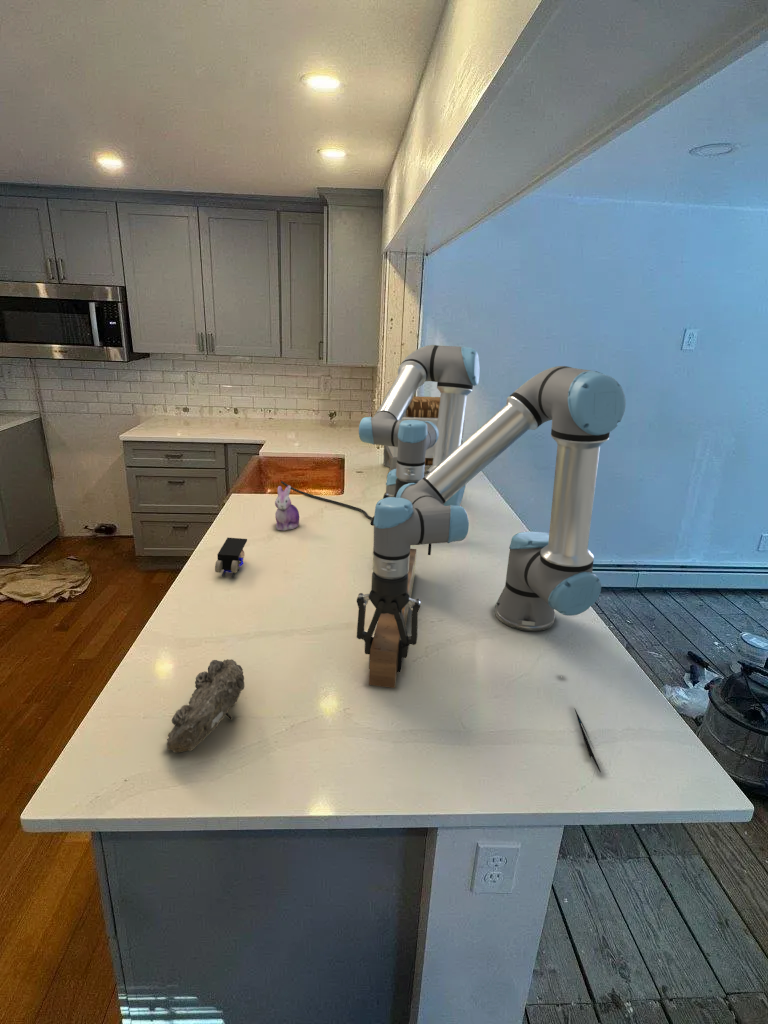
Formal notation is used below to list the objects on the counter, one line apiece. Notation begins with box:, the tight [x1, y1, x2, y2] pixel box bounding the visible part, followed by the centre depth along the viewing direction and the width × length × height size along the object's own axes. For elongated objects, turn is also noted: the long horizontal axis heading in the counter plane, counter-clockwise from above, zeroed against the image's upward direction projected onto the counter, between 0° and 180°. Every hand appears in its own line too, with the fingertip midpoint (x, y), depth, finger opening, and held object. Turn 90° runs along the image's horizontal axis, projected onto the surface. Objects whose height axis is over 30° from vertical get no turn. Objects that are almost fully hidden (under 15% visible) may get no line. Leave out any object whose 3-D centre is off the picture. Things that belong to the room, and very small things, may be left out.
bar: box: [368, 547, 417, 689], centre depth 143 cm, size 54×6×9 cm, turn 173°
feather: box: [561, 676, 602, 773], centre depth 111 cm, size 2×28×2 cm
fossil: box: [166, 658, 245, 754], centre depth 106 cm, size 22×10×15 cm
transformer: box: [383, 395, 465, 472], centre depth 268 cm, size 34×33×41 cm
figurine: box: [274, 484, 300, 531], centre depth 199 cm, size 9×10×15 cm
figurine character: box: [214, 537, 248, 578], centre depth 166 cm, size 7×8×15 cm
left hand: (405, 551), depth 160 cm, fingers open, 13 cm apart
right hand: (385, 667), depth 125 cm, fingers closed on bar, 5 cm apart
